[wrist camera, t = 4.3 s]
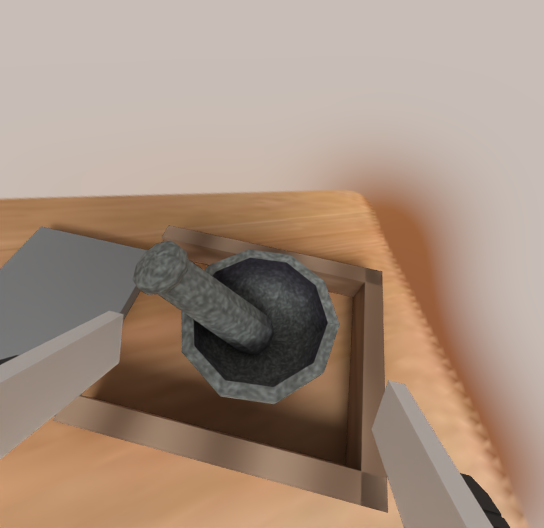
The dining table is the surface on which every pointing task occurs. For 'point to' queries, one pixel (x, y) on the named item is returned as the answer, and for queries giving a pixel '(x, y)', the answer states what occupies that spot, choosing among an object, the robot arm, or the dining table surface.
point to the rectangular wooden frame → (255, 455)
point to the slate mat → (62, 287)
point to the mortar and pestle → (246, 318)
